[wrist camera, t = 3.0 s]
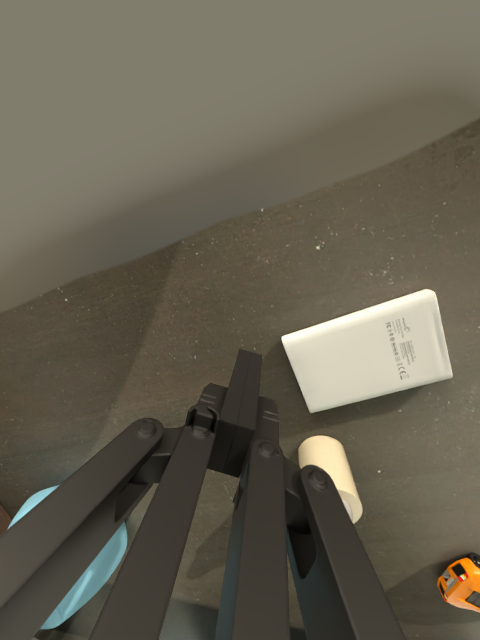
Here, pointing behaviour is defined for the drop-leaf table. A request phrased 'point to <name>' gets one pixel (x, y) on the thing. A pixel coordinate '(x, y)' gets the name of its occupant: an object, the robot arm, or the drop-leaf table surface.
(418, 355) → the hard drive
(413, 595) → the drop-leaf table surface
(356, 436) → the drop-leaf table surface
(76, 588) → the sugar bowl
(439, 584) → the toy car
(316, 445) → the salt shaker
